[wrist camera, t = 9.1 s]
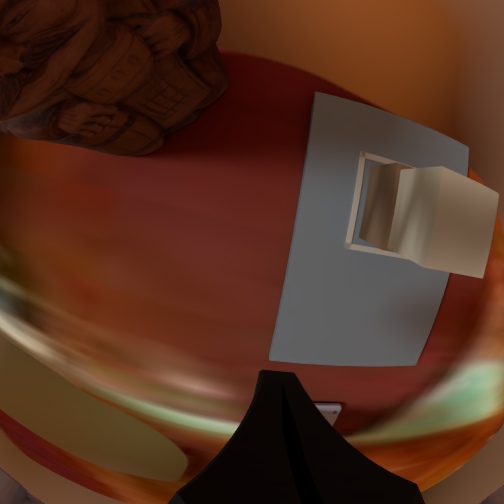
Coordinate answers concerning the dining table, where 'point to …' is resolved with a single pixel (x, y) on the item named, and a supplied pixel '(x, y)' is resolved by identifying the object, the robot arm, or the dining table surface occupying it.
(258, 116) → the dining table surface
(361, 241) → the mat
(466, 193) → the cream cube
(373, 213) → the walnut base block
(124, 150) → the wooden figurine
